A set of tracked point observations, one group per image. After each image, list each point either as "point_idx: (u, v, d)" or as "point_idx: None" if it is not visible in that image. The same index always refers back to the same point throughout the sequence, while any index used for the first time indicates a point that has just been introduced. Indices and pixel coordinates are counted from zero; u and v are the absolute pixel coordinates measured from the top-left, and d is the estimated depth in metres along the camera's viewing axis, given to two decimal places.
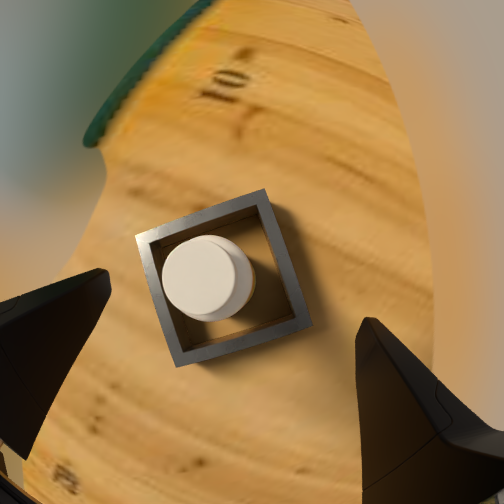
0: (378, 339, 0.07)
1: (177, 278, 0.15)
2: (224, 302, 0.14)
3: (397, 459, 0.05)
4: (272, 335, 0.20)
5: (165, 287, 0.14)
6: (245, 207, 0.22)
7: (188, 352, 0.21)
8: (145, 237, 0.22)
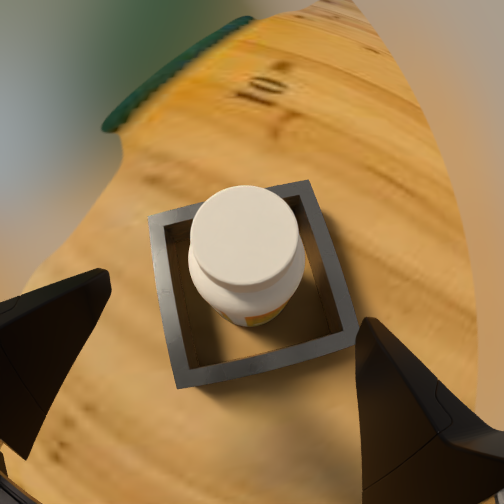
0: (378, 339, 0.07)
1: (213, 230, 0.10)
2: (282, 268, 0.10)
3: (397, 459, 0.05)
4: (313, 352, 0.15)
5: (194, 242, 0.10)
6: (286, 197, 0.18)
7: (197, 369, 0.15)
8: (160, 219, 0.18)
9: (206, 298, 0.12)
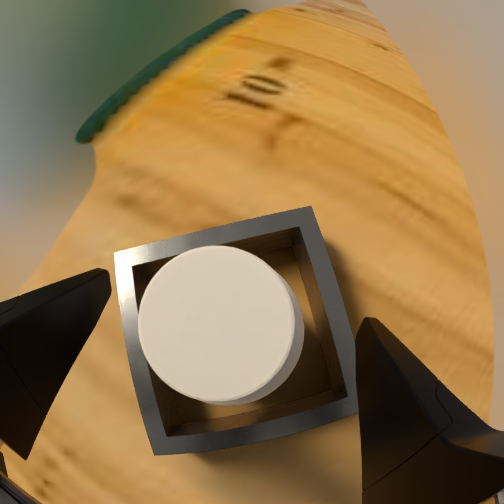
0: (378, 339, 0.07)
1: (169, 319, 0.07)
2: (268, 380, 0.06)
3: (397, 459, 0.05)
4: (310, 422, 0.11)
5: (142, 335, 0.07)
6: (283, 229, 0.15)
7: (175, 437, 0.11)
8: (128, 257, 0.14)
9: None
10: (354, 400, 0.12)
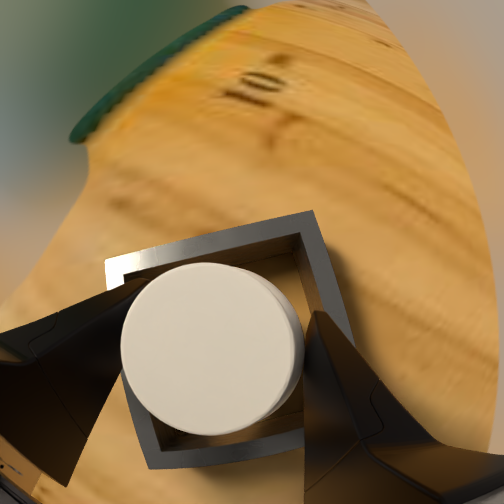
0: (319, 333, 0.07)
1: (154, 346, 0.06)
2: (264, 414, 0.05)
3: (328, 462, 0.05)
4: None
5: (126, 362, 0.06)
6: (282, 235, 0.14)
7: (170, 452, 0.10)
8: (119, 264, 0.13)
9: None
10: None
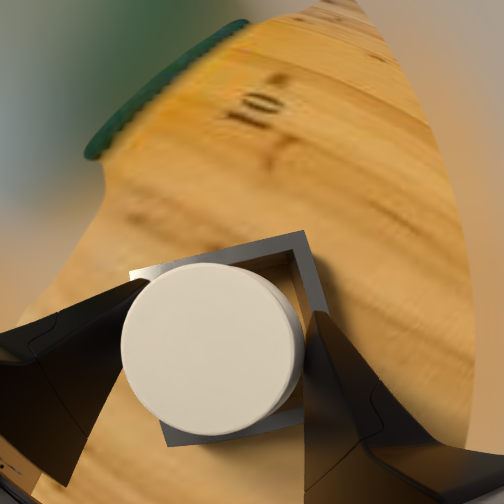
0: (319, 333, 0.07)
1: (154, 346, 0.06)
2: (264, 414, 0.05)
3: (328, 462, 0.05)
4: (301, 418, 0.14)
5: (126, 362, 0.06)
6: (278, 251, 0.17)
7: None
8: (142, 276, 0.16)
9: None
10: None
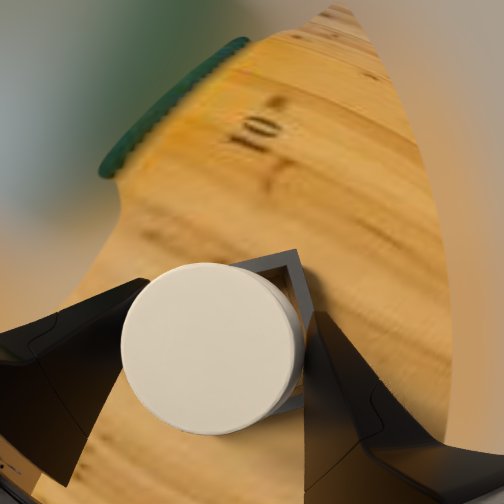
0: (320, 332, 0.07)
1: (154, 346, 0.06)
2: (264, 414, 0.05)
3: (328, 462, 0.05)
4: (293, 405, 0.17)
5: (126, 362, 0.06)
6: (274, 267, 0.20)
7: None
8: None
9: None
10: None
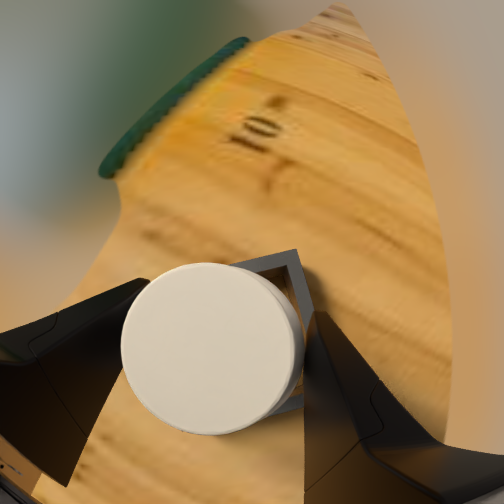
0: (320, 332, 0.07)
1: (154, 346, 0.06)
2: (264, 414, 0.05)
3: (328, 462, 0.05)
4: (293, 405, 0.17)
5: (126, 362, 0.06)
6: (274, 267, 0.20)
7: None
8: None
9: None
10: None
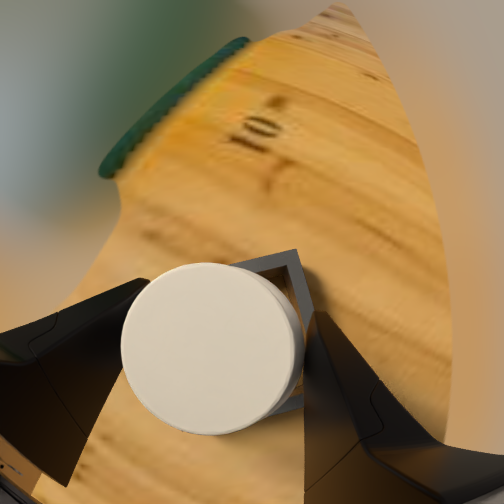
0: (320, 332, 0.07)
1: (154, 346, 0.06)
2: (264, 414, 0.05)
3: (328, 462, 0.05)
4: (293, 405, 0.17)
5: (126, 362, 0.06)
6: (274, 267, 0.20)
7: None
8: None
9: None
10: None
